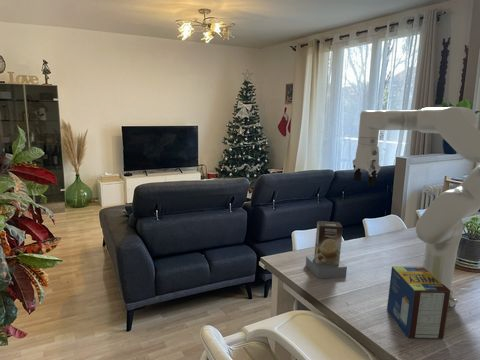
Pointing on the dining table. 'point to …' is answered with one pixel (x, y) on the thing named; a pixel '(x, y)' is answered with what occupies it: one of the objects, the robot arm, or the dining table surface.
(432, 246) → the robot arm
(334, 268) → the pedestal
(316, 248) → the coffee box
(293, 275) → the dining table surface
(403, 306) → the protein box
